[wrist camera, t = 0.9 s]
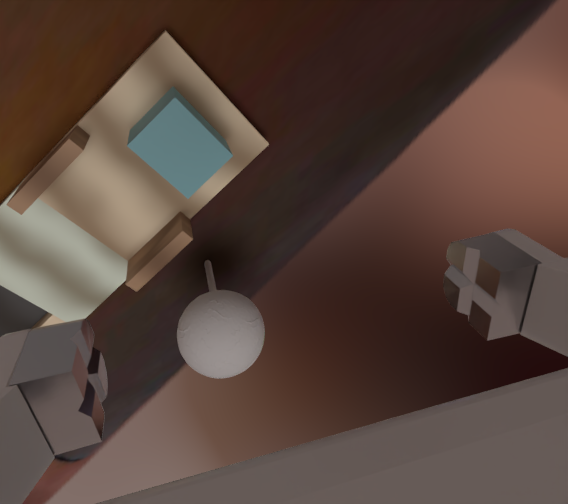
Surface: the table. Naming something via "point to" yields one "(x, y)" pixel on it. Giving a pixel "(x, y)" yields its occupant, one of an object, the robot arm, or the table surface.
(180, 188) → the block
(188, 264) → the table surface
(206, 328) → the lollipop
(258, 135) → the deck
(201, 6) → the table surface
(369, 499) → the robot arm
